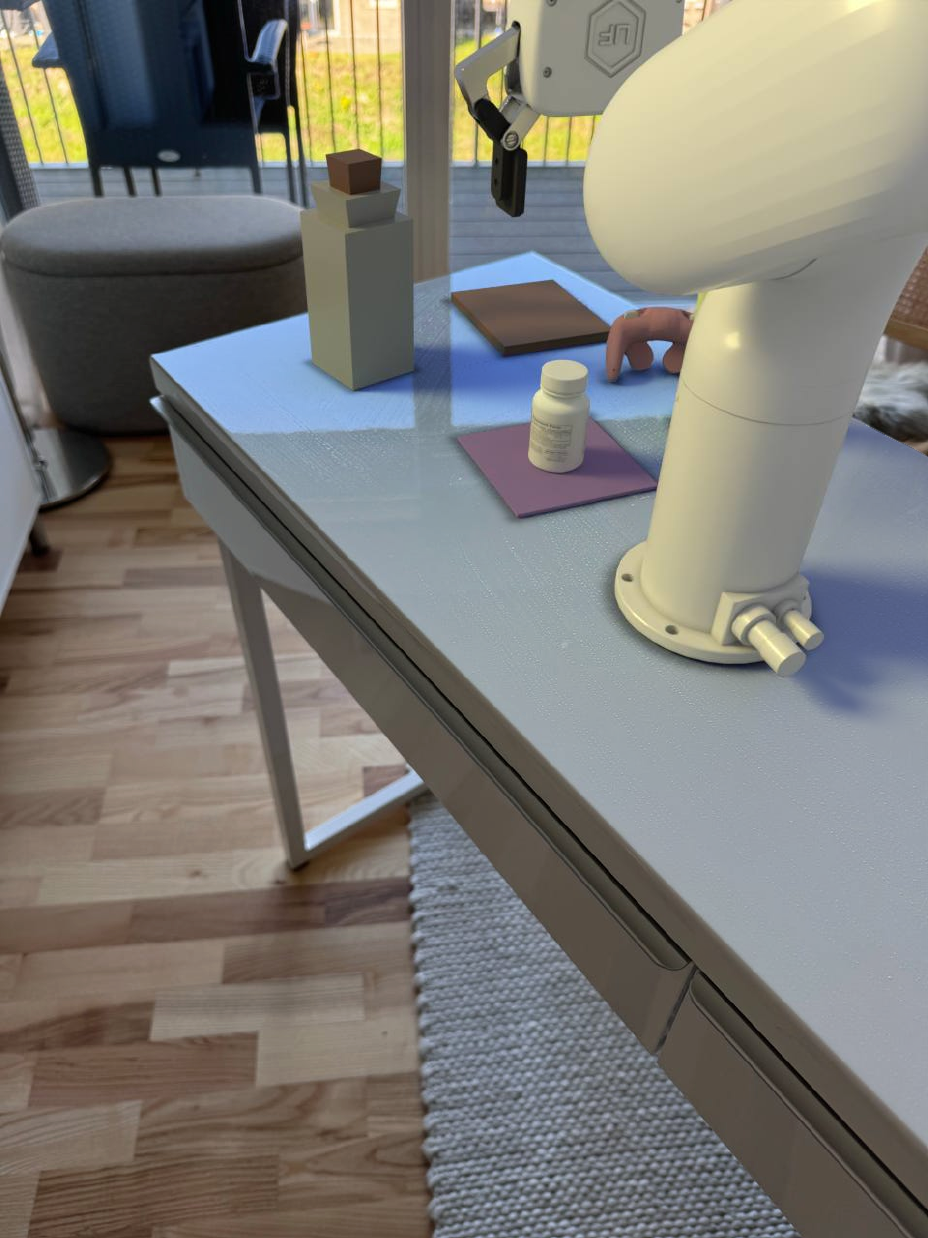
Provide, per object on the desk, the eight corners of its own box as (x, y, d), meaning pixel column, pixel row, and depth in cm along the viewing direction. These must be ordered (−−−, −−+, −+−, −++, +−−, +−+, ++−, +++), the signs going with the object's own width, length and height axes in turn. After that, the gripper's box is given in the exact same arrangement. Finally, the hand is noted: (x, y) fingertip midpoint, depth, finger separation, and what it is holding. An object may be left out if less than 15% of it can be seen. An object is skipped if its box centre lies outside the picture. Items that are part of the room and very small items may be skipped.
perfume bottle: (353, 390, 81) (341, 172, 70) (312, 362, 85) (294, 152, 73) (414, 370, 85) (412, 159, 73) (372, 344, 89) (364, 140, 77)
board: (614, 339, 91) (615, 330, 91) (504, 356, 88) (504, 346, 87) (552, 288, 101) (552, 279, 100) (450, 301, 97) (450, 291, 97)
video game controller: (705, 389, 87) (715, 312, 85) (714, 389, 83) (725, 307, 81) (600, 381, 87) (608, 304, 86) (604, 381, 83) (613, 300, 81)
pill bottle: (555, 440, 75) (565, 350, 70) (594, 462, 73) (606, 371, 68) (516, 456, 73) (523, 366, 68) (554, 480, 71) (565, 388, 66)
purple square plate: (658, 488, 71) (659, 484, 71) (517, 517, 67) (517, 514, 67) (586, 416, 79) (586, 413, 79) (457, 439, 76) (457, 436, 75)
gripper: (489, -123, 45) (477, 234, 56) (778, -117, 50) (714, 209, 62) (436, -130, 50) (434, 199, 62) (703, -124, 56) (656, 178, 67)
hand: (574, 204), depth 62 cm, fingers open, 9 cm apart
